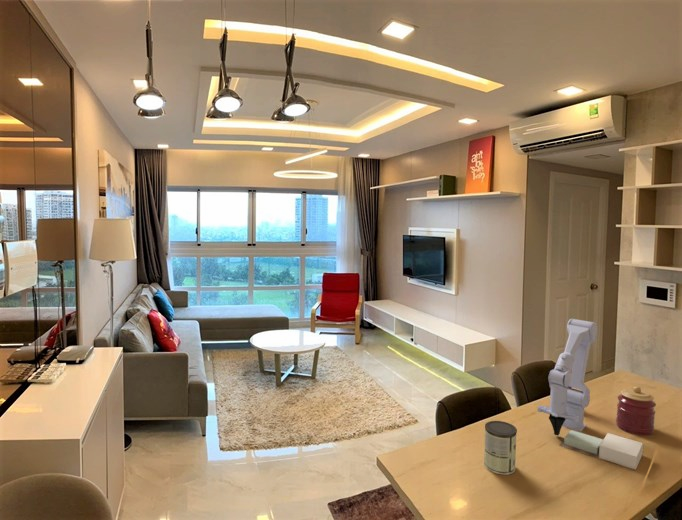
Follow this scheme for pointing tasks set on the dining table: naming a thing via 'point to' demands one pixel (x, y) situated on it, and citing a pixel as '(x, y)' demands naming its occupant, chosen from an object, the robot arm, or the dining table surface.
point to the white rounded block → (621, 450)
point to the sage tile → (583, 441)
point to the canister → (636, 411)
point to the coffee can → (500, 447)
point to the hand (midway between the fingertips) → (556, 434)
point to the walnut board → (588, 453)
